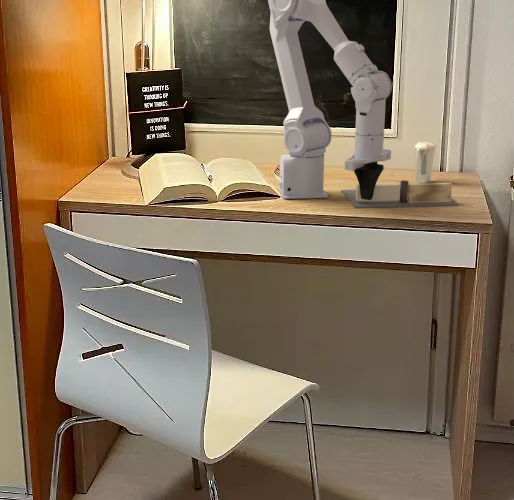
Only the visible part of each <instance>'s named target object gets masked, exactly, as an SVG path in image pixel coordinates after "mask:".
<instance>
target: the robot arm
mask: <svg viewBox="0 0 514 500" xmlns="http://www.w3.org/2000/svg"><path fill="white" fill-rule="evenodd" d="M267 3H268V6H269V10H270V17H269V18H270V19H269V33H270V37H271V41H272V47H273V49H274V55H275V57H276V62H277V67H278V71H279V75H280V78H281V83H282V87H283V91H284V92H283V93H284V96H285V100H286V103H287V108H288V113H287V116H285V117H284V120H283V123H282V124H283V128H284V130H283V131H284V134H283V143H284V146H285V148H286V150H287V151H288V154H281V155H280V158H279V183H278V185H279V187H278V191H279V193H280V194H281V197H283V199H286V200H287V199H289V200H291V199H292V200H293V199H294V200H295V199H296V200H298V199H327V198H328V197H329V195H328V194H327V192H326V191H325V190H324V184H325V183H324V178H325V153H326V150H327V148H328V146H329V145H330V144H331V142H332V136H333V135H332V130H331V127H330V126H329V124H328V122H327V121H326V120H325V116H324V115H325V114H324V113H323V112H322V111H321V110H320V109H319V108H318V107H317V106H316V105H315V102H314V98H313V94H312V89H311V85H310V81H309V77H308V73H307V68H306V64H305V60H304V57H303V51H302V47H301V43H300V39H299V34H298V33H299V30H300V29H301V27H302V25H303V24H304V23H305V22H306V21H307V22H310V23H311V24H312V25H313V27H315V29H316V30H317V31H318V32H319V34H321V36H322V37H323V38H324V39H325V41H326V42H327V44H328V45H329V46H330V47H331V48H332V50H333V51H334V54H333V61H334V62H335V63H336V65H337V66H338V68H339V69H340V71H341V72H342V74H343V75H344V76H345V77H346V79H347V81H348V82H349V84H351V86H352V87H350V94H351V95H352V98H353V100H354V102H355V103H354V104H355V110H356V111H355V113H356V114H355V133H354V134H355V136H354V138H355V139H354V154H352V155H351V156H350V157H349V158H348V159H345V160H344V170H345V171H350V172H353V173H354V174H355V177H356V179H357V182H358V185H359V186H360V195H361V199H366V200H371V199H372V198H373V194H374V189H375V185H376V184H377V183H378V180H379V177H380V176H381V174H382V172H383V171H384V167H385V165H384V164H380V163H379V162H386V161H388V160H389V161H390V160H391V159H392V150H391V149H385V148H384V138H385V136H384V135H385V121H386V120H385V119H386V99H387V98H388V97H389V96H390V95H391V93H392V89H393V88H392V87H393V86H392V85H393V84H392V81H391V79H390V76H389V74H388V73H386V72H385V71H383V70H379V69H378V67H377V65H376V64H374V63H373V62H372V61H371V60H370V58H369V57H368V55H367V54H366V52H365V47H364V46H363V44H361V43H360V44H359V43H358V42H357V41H354V40H353V41H352V40H349V39H348V37H347V35H346V34H345V33H344V31H343V29H342V28H341V26H340V25H339V23H338V21H337V20H336V18H335V17H334V15H333V13H332V12H331V10H330V9H329V7H328V5H327V2H326V0H267Z"/></svg>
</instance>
